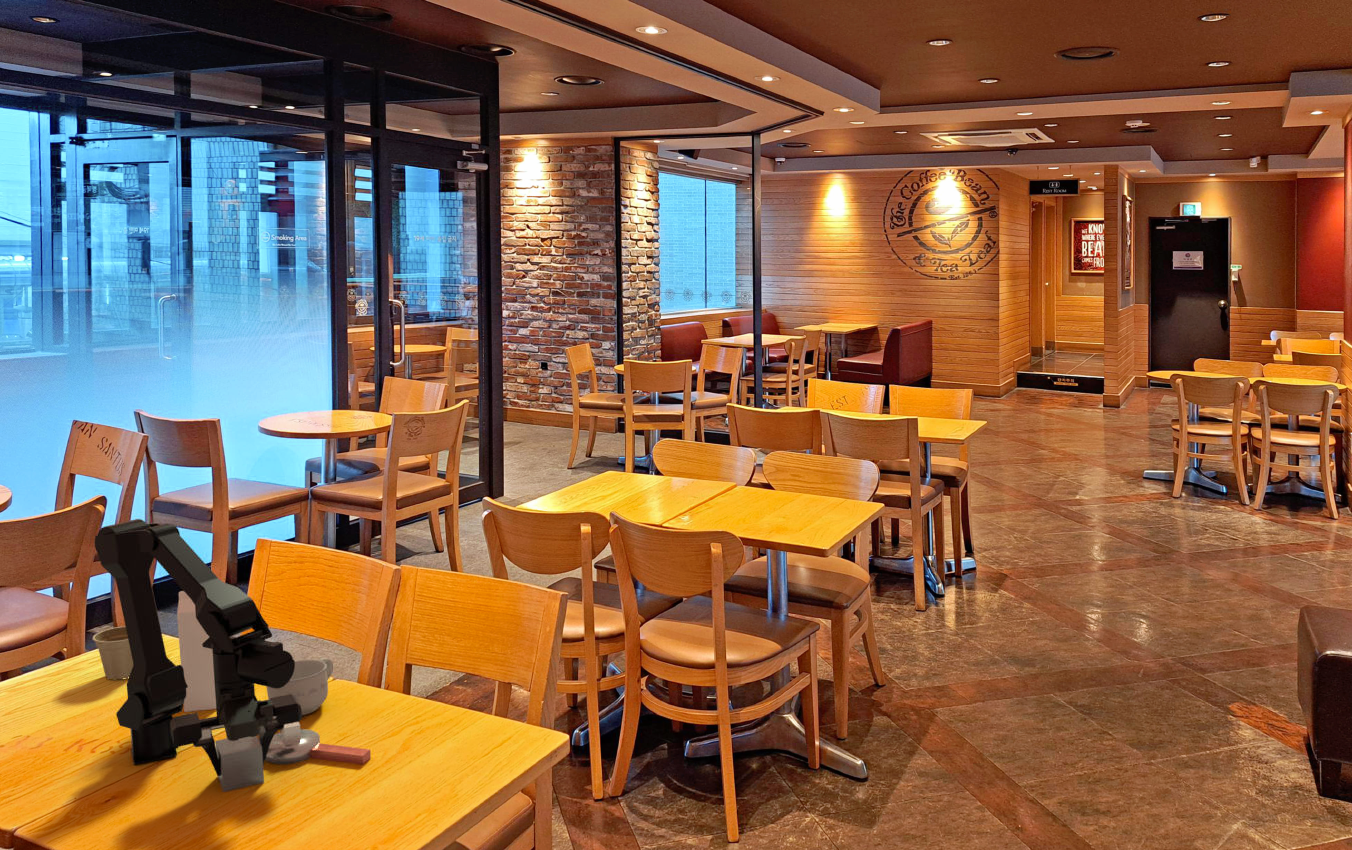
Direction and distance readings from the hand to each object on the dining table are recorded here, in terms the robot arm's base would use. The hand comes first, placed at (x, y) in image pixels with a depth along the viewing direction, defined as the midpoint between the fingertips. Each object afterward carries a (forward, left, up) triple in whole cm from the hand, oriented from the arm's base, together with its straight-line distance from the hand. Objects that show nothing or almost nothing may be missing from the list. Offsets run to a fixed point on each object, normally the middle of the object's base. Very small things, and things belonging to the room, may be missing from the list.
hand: (240, 770), depth 170 cm
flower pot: (-13, +59, -2) cm, 60 cm away
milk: (-1, +35, -2) cm, 35 cm away
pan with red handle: (+12, +3, -2) cm, 13 cm away
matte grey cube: (0, 0, -2) cm, 2 cm away
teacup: (+15, +24, -2) cm, 28 cm away
